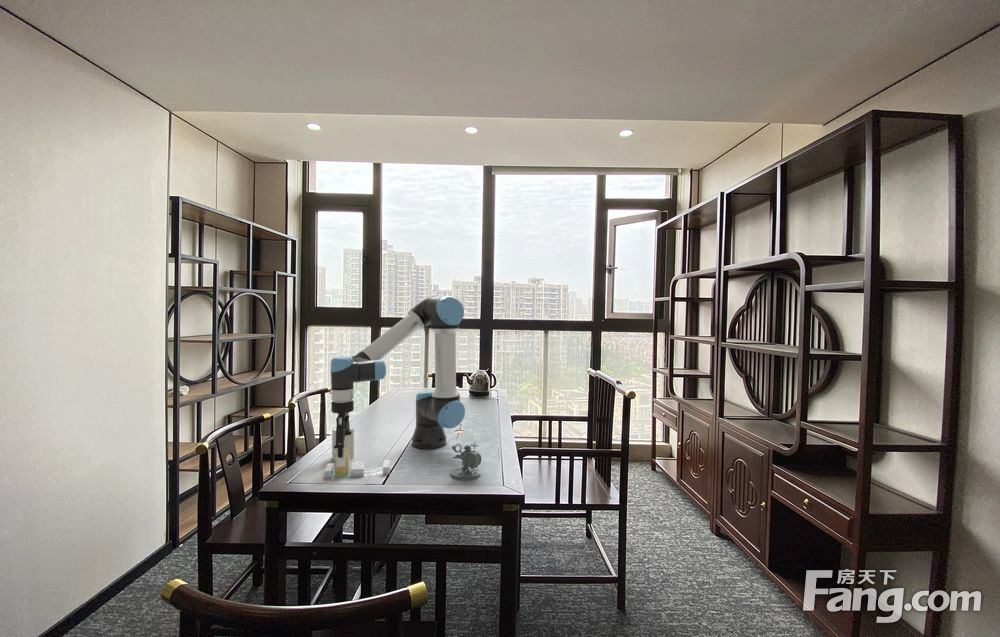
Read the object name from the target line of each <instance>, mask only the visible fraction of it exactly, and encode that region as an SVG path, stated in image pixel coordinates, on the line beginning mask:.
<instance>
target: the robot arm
mask: <svg viewBox="0 0 1000 637" xmlns="http://www.w3.org/2000/svg"><path fill="white" fill-rule="evenodd" d="M464 318H465V309H464V304H462V302H461V301H460V300H459V299H458V298H457V297H454V296H451V295H438V296H437V295H433V296H432V295H431V296H429V297H426V298H424V299H423V300H422V301H420V302H418V303H417V304H416V305H414V307H412V308H411V309H410V310H408V312H407V315H406V316H405V317H403V318H402V319H401V320H400V321H398V322H397V323H395V324H394V325H393V326H392V327H390V328H389V329H388V330H386V331H385V332H384V333H383V334H381V335H380V336H379V337H378V338H376V339H375V340H373V341H372V342H371V343H370V344H368V345H367V346H366V347H365V348H363V349H362V350H361V351H359V352H357V353H356V354H355V355H351V356H336V357H333V358H332V359H331V360H330V361H331V362H330V385H331V386H330V390H331V391H329V395H331V403H330V404H331V405H330V406H331V411H330V412H332V414H338V415H337V417H336V418H335V420H336V421H335V422H336V425H335V427H336V445H335V446H334V448H336V461H337V467H340V466H345V448H350V437H349V435H351V432H350V426H351V425H350V413H351V412H353V411H354V409H355V408H354V407H355V404H354V403H355V402H354V394H355V392H354V391H355V390H354V383H361V382H369V381H370V382H372V381H375V382H377V381H380V380H384V379H385V377H386V374H387V366H386V363H385V361H384V360H382V359H383V358H385V357H386V356H387V355H388V354H390V353H392V351H393V350H394V349H396V348H397V347H399V345H401V344H402V343H403V342H405V341H406V340H407V339H409V338H410V337H411V336H412V335H413V334H414V333H415V332H417V331H419V330H423V329H425V328H426V327H428V326H429V325H430V330H431V331H432V332H433V333H434V373H435V374H434V378H435V379H434V380H435V382H434V384H435V385H434V386H435V387H434V388H435V390H429V391H427V390H426V391H420V392H418V393H417V394H416V397H415V429H414V432H413V435H412V437H411V446H413V447H414V448H418V449H425V450H426V449H429V450H430V449H436V448H437V449H438V448H441V447H444V446H445V445H447V435H446V433H445V428H446V429H455V428H457V427H458V426H459V425H461V423H462V422H463V420H464V419H465V416H466V407H465V405H464V404H463V403H462V402H461V396H460V395H461V394H460V392H459V391H458V390H457V365H456V364H457V359H456V357H457V356H456V355H457V346H456V345H457V344H456V343H457V342H456V340H457V339H456V336H457V332H458V331H459V329H460V323H461V322H462V320H463V319H464ZM339 443H341V444H339Z"/></svg>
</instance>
